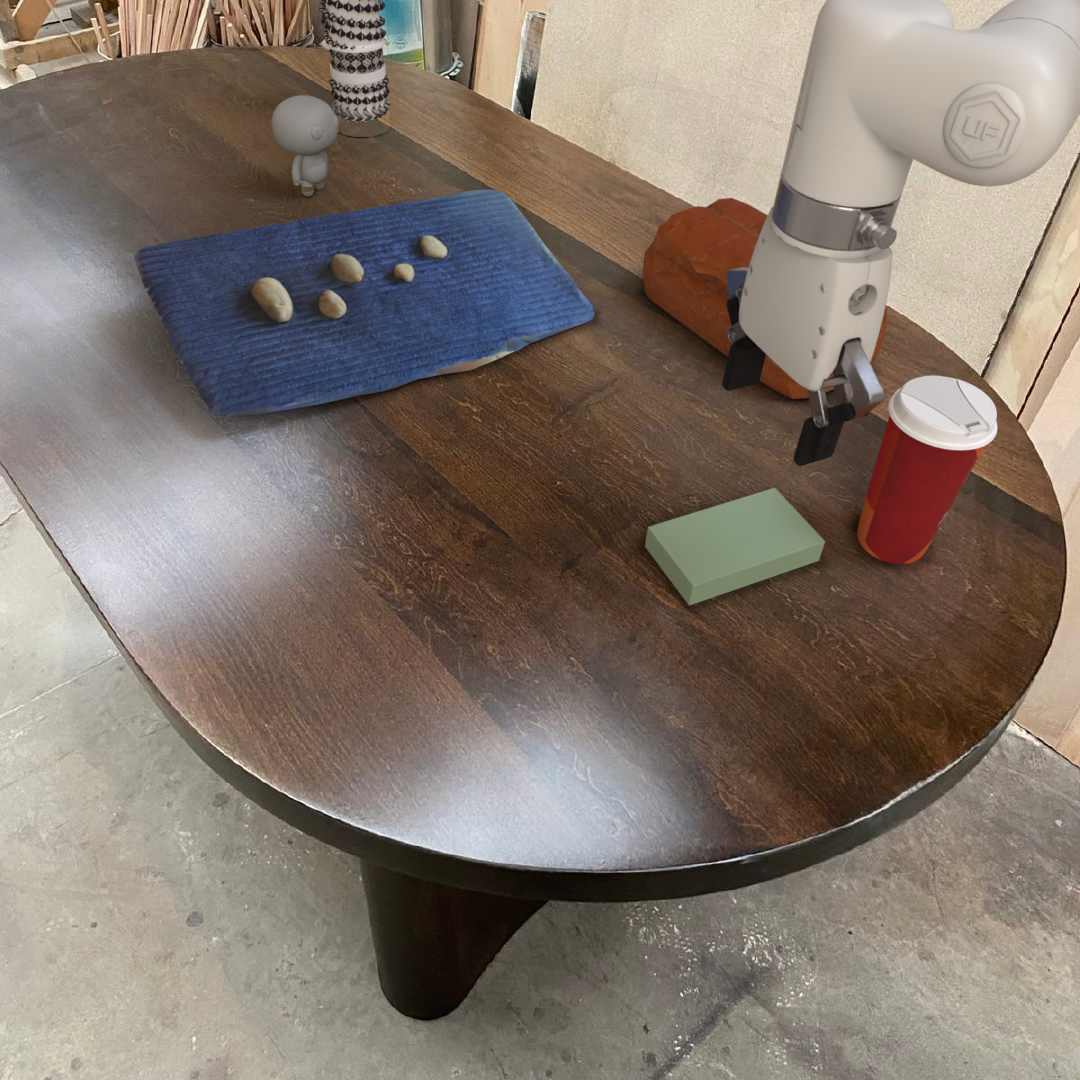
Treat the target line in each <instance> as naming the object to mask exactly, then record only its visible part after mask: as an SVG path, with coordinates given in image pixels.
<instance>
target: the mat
mask: <svg viewBox="0 0 1080 1080" xmlns="http://www.w3.org/2000/svg"><path fill="white" fill-rule="evenodd" d="M133 259H134V262H135V265H136V267H137V272H138V274H139V277H140V281H141V284H142V286H143V287H144V289H145V291H146V294H147V295H148V297H149V299H150V301H151V303H152V305H153V306H154V309H155V310H156V312H157V314H158V316H159V318H160V321H161V323H162V325H163V328H164V330H165V332H166V334H167V336H168V339H169V341H170V344H171V345H172V348H173V350H174V352H175V353H176V356H177V357H178V359H179V361H180V363H181V365H182V366H183V368H184V370H185V372H186V374H187V376H188V378H189V379H190V381H191V383H192V385H193V387H194V388H195V390H196V392H197V394H198V396H199V398H200V400H201V401H202V404H203V405H204V407H205V408H206V410H207V411H208V412H209V413H211V415H212V416H214V417H218V418H225V419H230V418H237V417H239V418H240V417H245V416H246V417H247V416H252V415H261V414H267V413H274V412H279V411H280V412H281V411H286V410H292V409H293V410H294V409H299V408H305V407H311V406H317V405H322V404H327V403H331V402H336V401H341V400H345V399H350V398H355V397H359V396H365V395H370V394H375V393H382V392H385V391H389V390H393V389H395V388H399V387H401V386H404V385H406V384H409V383H412V382H414V381H417V380H420V379H425V378H432V377H435V376H441V375H448V374H454V373H463V372H469V371H472V370H473V371H474V370H475V369H478V368H480V367H483V366H485V365H488V364H489V363H492V362H494V361H497V360H499V359H501V358H504V357H505V356H508V355H510V354H511V353H514V352H517V351H519V350H521V349H523V348H525V347H526V346H528V345H530V344H533V343H535V342H538V341H540V340H543V339H547V338H548V337H551V336H553V335H556V334H559V333H562V332H565V331H567V330H570V329H572V328H575V327H578V326H580V325H583V324H587V323H589V322H591V321H593V320H594V317H595V313H596V312H595V309H594V306H593V304H592V303H591V301H589V300H588V298H587V297H586V296H585V295H584V294H583V292H582V291H581V290H580V288H579V286H578V284H577V283H576V281H575V279H573V277H572V276H571V275H570V273H568V271H567V270H566V269H565V268H564V267H563V265H562V264H561V263H560V262H559V260H558V259H557V258H556V257H555V255H554V254H553V253H552V252H551V250H550V249H549V247H548V246H546V244H545V243H544V242H543V240H542V239H541V237H540V236H539V234H538V233H537V231H536V230H535V228H534V227H533V226H532V225H531V224H530V222H529V221H528V219H527V218H526V217H525V215H524V214H523V212H522V211H521V210H520V209H519V207H518V206H517V205H516V203H515V202H514V201H513V199H511V198H510V197H509V196H508V195H507V194H506V193H504V192H502V191H500V190H496V189H491V188H490V189H489V188H488V189H476V190H475V189H474V190H467V191H464V192H459V193H455V194H447V195H443V196H441V195H440V196H435V197H429V198H424V199H415V200H410V201H402V202H396V203H393V204H387V205H382V206H377V207H370V208H363V209H356V210H350V211H343V212H336V213H332V214H330V213H329V214H325V215H320V216H319V215H318V216H314V217H305V218H299V219H297V220H291V221H286V222H280V223H275V224H266V225H263V226H256V227H251V228H245V229H237V230H231V231H226V232H224V231H223V232H219V233H213V234H206V235H200V236H194V237H190V238H183V239H178V240H173V241H169V242H164V243H158V244H153V245H146V246H144V247H141V248H140V249H139V250H138V251H137V253H136V254H135V255H134V257H133Z"/></svg>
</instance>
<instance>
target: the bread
mask: <svg viewBox="0 0 1080 1080" xmlns="http://www.w3.org/2000/svg"><path fill="white" fill-rule="evenodd" d="M767 216H768V214H766V213H765V212H763V211H761V210H760V209H757V208H756V207H755V206H752V205H751V204H749V203H746V202H744V201H741V200H738V199H735V198H733V197H729V198H728V197H725V198H718V199H717V200H715V201H713V202H712V203H710V204H709V205H707V206H699V205H698V206H694V207H691V208H688V209H684V210H681V211H678V212H676V213H673V214H671V215H670V217H669V218H668V219H667V220H666V222H664V223H662V224H659V226H658V229H657V231H656V233H655V236H654V238H653V241H652V242H651V243H650V245H649V246H648V247H647V248H646V250H645V252H644V254H643V255H644V256H643V266H642V275H643V276H642V277H643V287H644V293H645V294H646V297H647V298H648V300H650V301H651V302H652V303H653V304H655V305H657V306H658V307H659V308H660V309H662V310H663V311H664V312H665V313H668V314H669V315H670V316H671V317H672V318H673V319H675V320H676V321H678V322H679V323H680V324H682V325H683V326H684V327H686V328H687V329H688V330H689V331H691V332H692V333H693V334H695V335H697V336H698V337H699V338H701V339H702V340H703V341H705V342H706V343H707V344H708V345H710V346H712V347H713V348H715V349H716V350H717V351H719V352H720V353H721V354H723V355H724V356H725V357H727V358H728V355H729V350H730V346H731V345H733V343H732V342H730V340H729V338H728V329H729V328H730V327H731V326H732V325H731V321H730V317H729V313H728V310H727V301H728V300H729V299H730V296H728V284H727V272H728V270H732V269H736V268H741V267H749V265H750V261H751V258H752V255H753V252H754V249H755V246H756V243H757V240H758V238H759V235H760V232H761V230H762V227H763V225H764V222H765V220H766V218H767ZM887 324H888V307H887V305H886V306H885V311H884V315H883V319H882V323H881V327H880V331H879V335H878V338H877V342H876V346H875V349H874V352H873V356H872V359H871V362H870V364H871V366H872V367H873V365H874V364H875V362H876V360H877V357H878V355H879V353H880V351H881V350H882V347H883V343H884V339H885V335H886V332H887V326H888V325H887ZM829 377H833V372H832V373H831V374H830V376H829ZM829 377H828V378H829ZM759 382H760V383H762V384H764V385H765V386H767V387H769V388H770V389H771V390H773V391H775V392H776V393H779V394H781V395H782V396H785V397H787V398H789V399H792V400H800V399H809V396H808V391H807V389H806V388H804V387H802V386H801V385H799V384H798V383H797V382H796V381H795V380H793V379H792V378H791V377H790V376H789V375H788V374H787V373H786V372H785V371H783V370H782V369H781V368H780V367H779V366H778V365H777V364H776V363H775V362H774V361H773V360H772V359H771V358H770V357H769V356H768V355H767V354H766V357H765V361H764V365H763V369H762V373H761V377H760V381H759ZM824 389H825V394H826V393H828V392H831V391H833V390H834V386H832V387H828V388H824Z"/></svg>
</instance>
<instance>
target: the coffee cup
mask: <svg viewBox="0 0 1080 1080" xmlns="http://www.w3.org/2000/svg"><path fill="white" fill-rule="evenodd" d="M887 409H888V414H889V416H888V419H887V423H886V426H885V430H884V433H883V437H882V439H881V440H882V441H881V443H880V447H879V450H878V453H877V457H876V460H875V464H874V467H873V471H872V473H871V478H870V481H869V485H868V489H867V492H866V495H865V499H864V502H863V506H862V509H861V514H860V517H859V521H858V525H857V528H856V529H857V530H856V537H857V540H858V543H859V544H860V546H861V547H862V548H863V549H864V551H865V552H867V553H868V554H869V555H871V556H872V557H873V558H876V559H878V560H879V561H882V562H885V563H888V564H895V565H906V564H907V565H909V564H912V563H915V562H918V561H919V560H920V559H921V558H922V557H923V556H924V555H925V553H926V551H927V550H928V548H929V547H930V546H931V543H932V542H933V540H934V538H935V536H936V534H937V533H938V531H939V529H940V528H941V526H942V524H943V522H944V521H945V518H946V517H947V515H948V513H949V511H950V510H951V508H952V506H953V504H954V503H955V501H956V499H957V497H958V495H959V494H960V491H961V490H962V488H963V486H964V484H965V483H966V481H967V479H968V477H969V475H970V473H971V472H972V470H973V468H974V466H975V464H976V463H977V461H978V459H979V458H980V455H981V454H982V452H983V450H984V449H985V446H987V445H989V444H990V443H991V442H993V441H994V439H995V437H996V436H997V433H998V422H997V417H998V411H997V408H996V404H995V403H994V401H993V400H992V399H991V397H990V396H989V395H988V394H987V393H986V392H984V391H983V390H981V389H980V388H978V387H977V386H975V385H973V384H971V383H969V382H967V381H964V380H962V379H959V378H954V377H949V376H943V375H934V374H933V375H923V376H919V377H915V378H913V379H911V380H909V381H907V382H905V383H904V384H903V385H902V386H901V387H900V388H897V389H896V390H895V391H894V393H893V394H892V395H891V397H890V398H889V401H888V406H887Z"/></svg>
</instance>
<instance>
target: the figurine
mask: <svg viewBox="0 0 1080 1080" xmlns="http://www.w3.org/2000/svg"><path fill="white" fill-rule="evenodd" d="M334 112H335V111H334V110H333V108H332V106H330V105H329V104H328V103H327V102H326V101H324V100H322V99H321V98H318V97H316V96H313V95H312V96H311V95H305V94H302V95H301V94H300V95H295V96H291V97H288V98H286V99H284V100H283V101H281V102H280V103H279V104H278V105H277V106H276V107H275V109H274V110H273V113H272V115H271V130H272V134H273V137H274V139H275V142H276V143H277V144H278V146H280V147H281V149H283V150H284V151H286V152H287V153H291V154H295V157H294V159H293V161H292V165H291V180H292V182H293V185H294V186H296V187H300V185H301V186H303V187H312V186H313V185H314V184H319V183H321V182H323V181H324V180H325V181H326V178H327V176H328V168H329V157H328V155H327V153H326V152H325V151H327V150H328V149H330V148H331V146H333V145H334V144H335V142H336V140H337V138H338V133H339V132H338V126H339V121H338V118H337V116H336V115H335V113H334ZM325 183H326V182H325ZM325 183H324V184H322V185H314V190H313V191H311V192H303V191H301V193H302V195H303V196H304V197H306V198H310V197H312V196H313V195H314V192H315V190H316V191H321V190H322V189H324V187H325Z"/></svg>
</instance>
